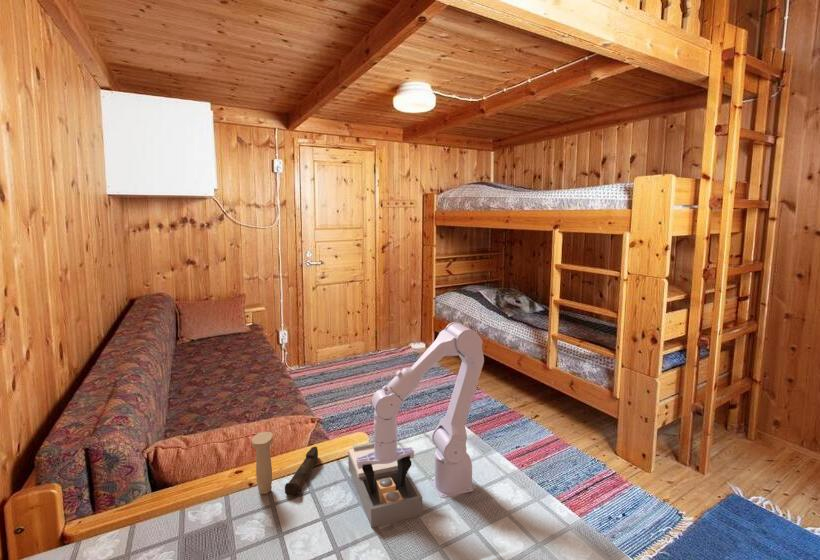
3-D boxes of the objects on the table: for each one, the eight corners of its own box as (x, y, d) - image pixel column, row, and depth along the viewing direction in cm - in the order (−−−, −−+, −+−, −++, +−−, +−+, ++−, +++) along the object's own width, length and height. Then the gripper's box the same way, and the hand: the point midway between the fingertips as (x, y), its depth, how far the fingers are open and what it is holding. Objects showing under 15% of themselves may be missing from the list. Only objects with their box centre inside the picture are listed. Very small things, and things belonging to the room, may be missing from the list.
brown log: (298, 498, 110) (298, 482, 109) (284, 497, 111) (283, 480, 110) (326, 459, 128) (325, 444, 128) (313, 457, 129) (313, 443, 128)
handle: (252, 499, 109) (249, 444, 107) (259, 484, 115) (256, 432, 113) (271, 498, 110) (268, 443, 107) (277, 483, 116) (274, 431, 114)
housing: (390, 461, 126) (390, 445, 126) (422, 516, 103) (422, 497, 102) (348, 469, 122) (348, 452, 122) (371, 529, 98) (371, 509, 98)
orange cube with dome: (398, 505, 106) (398, 489, 106) (403, 515, 102) (403, 498, 102) (382, 508, 105) (382, 492, 104) (387, 519, 101) (387, 502, 100)
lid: (390, 445, 125) (390, 438, 125) (405, 468, 114) (405, 461, 113) (348, 453, 121) (348, 446, 121) (358, 478, 109) (358, 470, 109)
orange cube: (395, 500, 108) (395, 484, 107) (380, 503, 107) (380, 487, 106) (391, 491, 112) (390, 475, 111) (376, 494, 110) (376, 478, 110)
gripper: (407, 425, 113) (407, 473, 115) (353, 435, 108) (354, 485, 110) (416, 438, 106) (417, 488, 108) (359, 449, 102) (361, 501, 103)
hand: (386, 488), depth 109 cm, fingers open, 7 cm apart
